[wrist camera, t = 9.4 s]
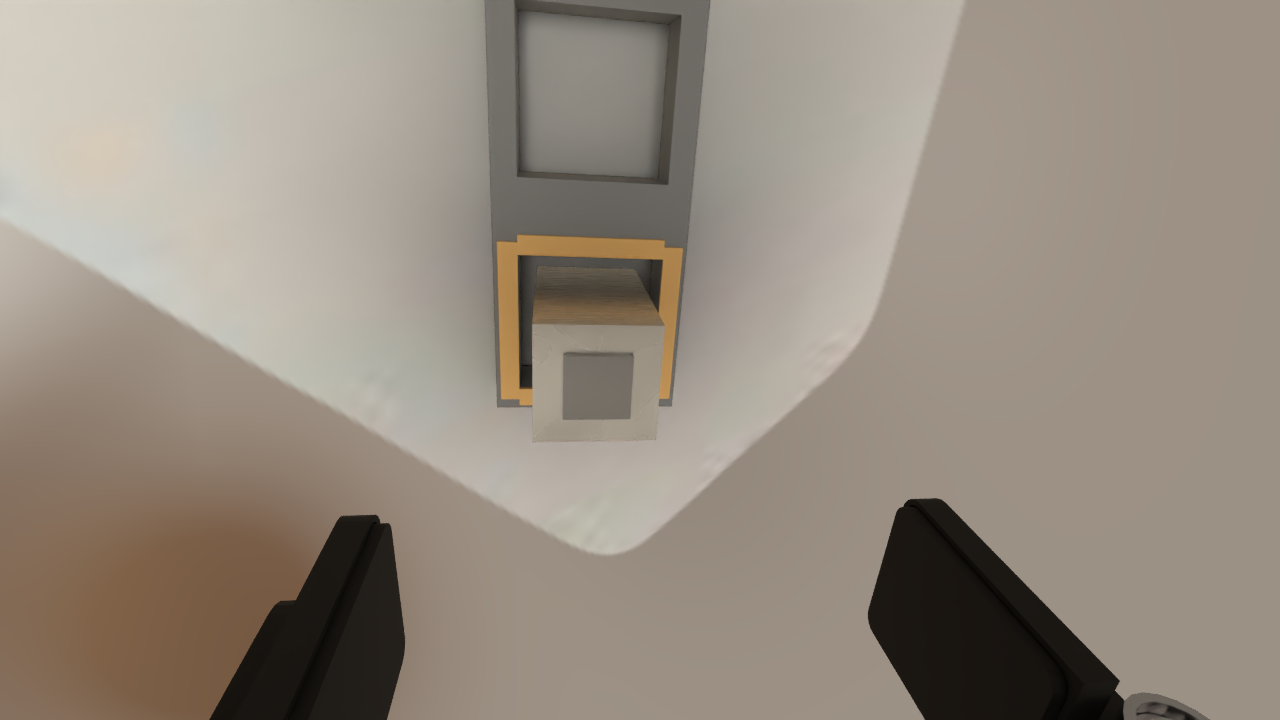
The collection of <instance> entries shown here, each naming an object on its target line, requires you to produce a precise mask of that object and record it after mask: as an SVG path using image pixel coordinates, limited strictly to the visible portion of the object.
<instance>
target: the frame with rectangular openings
mask: <svg viewBox="0 0 1280 720" xmlns="http://www.w3.org/2000/svg"><path fill="white" fill-rule="evenodd" d="M709 8H710V0H485V22H486V55H487V88H488V121H489V153H490V186H491V219H492V252H493V284H494V317H495V350H496V383H497V407H533V388H532V365H522V311H521V255H536V256H566V257H596V258H627V259H652V269H651V283H650V296H649V297H650V298H651V300H652V302H653V304H654V306H655V308H656V310H657V312H658V313H659V315H660V317H661V319H662V321H663V323H664V325H665V334H664V346H663V358H662V370H661V382H660V394H659V405H658V406H672V397H673V387H674V376H675V366H676V355H677V345H678V334H679V323H680V313H681V302H682V292H683V281H684V271H685V260H686V250H687V239H688V229H689V218H690V208H691V197H692V187H693V176H694V166H695V155H696V145H697V134H698V124H699V113H700V102H701V92H702V81H703V71H704V60H705V50H706V39H707V29H708V18H709ZM518 10H526V11H536V12H547V13H557V14H568V15H579V16H589V17H600V18H610V19H621V20H631V21H642V22H652V23H663V24H669V37H668V51H667V64H666V78H665V92H664V105H663V119H662V132H661V146H660V160H659V173H658V179H654V178H636V177H618V176H599V175H581V174H562V173H544V172H525V171H520V148H519V66H518Z"/></svg>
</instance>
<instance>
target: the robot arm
mask: <svg viewBox="0 0 1280 720" xmlns="http://www.w3.org/2000/svg"><path fill="white" fill-rule="evenodd" d="M868 620H869V625H870V628H871V630H872V632H873V634H874V635H875V637H876V639H877V640H878V642H879V644H880V645H881V647H882V649H883V650H884V652H885V654H886V655H887V657H888V659H889V660H890V662H891V664H892V665H893V667H894V669H895V670H896V672H897V674H898V675H899V677H900V679H901V680H902V682H903V684H904V685H905V687H906V689H907V690H908V692H909V694H910V695H911V697H912V699H913V700H914V702H915V704H916V705H917V707H918V709H919V710H920V712H921V713H922V715H923V717H924V719H925V720H1210V719H1208V718H1207V717H1205V716H1204V715H1202V714H1201V713H1199V712H1198V711H1196V710H1194V709H1192V708H1190V707H1188V706H1186V705H1184V704H1182V703H1180V702H1178V701H1177V700H1173V699H1170V698H1168V697H1165V696H1162V695H1158V694H1151V693H1138V694H1132V695H1130V696H1129V697H1128V698H1127V699H1126V700H1125V701H1124V700H1123V699H1122V698H1121V697H1120V695H1118V693H1117V692H1116V691H1115V689H1116V687H1117V685H1118V683H1119V682H1120V681H1119V680H1118V679H1117V678H1116V676H1115V675H1113V673H1112V672H1111V671H1110V670H1109V669H1108V668H1107V667H1106V666H1105V665H1104V664H1103V663H1102V662H1101V661H1100V660H1099V659H1098V658H1097V657H1096V656H1095V655H1094V654H1093V653H1092V652H1091V651H1090V650H1089V649H1088V648H1087V647H1086V646H1085V645H1084V644H1083V643H1082V642H1081V641H1080V640H1079V639H1078V638H1077V637H1076V636H1075V635H1074V634H1073V633H1072V632H1071V630H1069V628H1068V627H1067V626H1066V625H1065V624H1064V623H1063V622H1062V621H1061V620H1060V619H1058V617H1057V616H1056V615H1055V614H1054V613H1053V612H1052V611H1051V610H1050V609H1049V608H1048V607H1047V606H1046V605H1045V604H1044V603H1043V602H1042V601H1041V600H1040V599H1039V598H1038V597H1037V596H1036V595H1035V594H1034V593H1033V592H1032V591H1031V590H1030V589H1029V588H1028V587H1027V586H1026V584H1024V583H1023V581H1022V580H1021V579H1020V578H1019V577H1018V576H1017V575H1016V574H1015V573H1014V572H1013V571H1012V570H1011V569H1010V568H1009V567H1008V566H1007V565H1006V564H1005V563H1004V562H1003V561H1002V560H1001V559H1000V558H999V557H998V556H997V555H996V554H995V553H994V552H993V551H992V550H991V549H990V548H989V547H988V546H987V545H986V544H985V543H984V542H983V541H982V540H981V538H979V537H978V536H977V534H976V533H974V531H973V530H972V529H971V528H970V527H969V526H968V525H967V524H966V523H965V522H964V521H963V520H962V519H961V518H960V517H959V516H958V515H957V514H956V513H955V512H954V511H953V510H952V509H951V508H950V507H949V506H948V505H947V504H946V503H945V502H944V501H942V500H941V499H937V498H934V499H910V500H908V501H907V502H906V503H905V504H904V507H901V508H899V509H898V510H897V513H896V516H895V519H894V523H893V526H892V529H891V533H890V536H889V540H888V544H887V547H886V550H885V554H884V557H883V561H882V564H881V568H880V571H879V575H878V578H877V582H876V585H875V589H874V592H873V596H872V599H871V603H870V606H869V610H868ZM404 650H405V635H404V626H403V618H402V610H401V602H400V594H399V586H398V579H397V570H396V562H395V554H394V546H393V538H392V530H391V526H390V524H389V523H382V524H380V519H379V518H378V516H377V515H358V516H357V515H356V516H341V517H340V518H339V519H338V520H337V522H336V524H335V526H334V528H333V530H332V532H331V534H330V535H329V538H328V539H327V541H326V543H325V545H324V547H323V549H322V551H321V553H320V555H319V557H318V559H317V561H316V562H315V565H314V566H313V568H312V570H311V572H310V574H309V576H308V578H307V580H306V582H305V584H304V585H303V587H302V589H301V591H300V593H299V595H298V597H297V599H296V600H293V601H280V602H278V603H277V604H276V605H275V606H274V607H273V608H272V610H271V611H270V613H269V614H268V616H267V618H266V620H265V621H264V623H263V625H262V627H261V628H260V630H259V632H258V634H257V635H256V637H255V639H254V641H253V643H252V645H251V646H250V648H249V650H248V652H247V653H246V655H245V657H244V659H243V661H242V662H241V664H240V666H239V668H238V669H237V671H236V673H235V675H234V677H233V678H232V680H231V682H230V684H229V686H228V687H227V689H226V691H225V693H224V694H223V696H222V698H221V700H220V702H219V703H218V705H217V707H216V709H215V711H214V713H213V714H212V716H211V718H210V720H387V717H388V713H389V710H390V706H391V703H392V699H393V695H394V692H395V687H396V684H397V681H398V677H399V673H400V670H401V666H402V662H403V657H404Z"/></svg>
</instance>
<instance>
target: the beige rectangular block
mask: <svg viewBox="0 0 1280 720" xmlns="http://www.w3.org/2000/svg"><path fill="white" fill-rule="evenodd" d="M664 334H665V325H664V323H663V321H662V319H661V317H660V315H659V313H658V312H657V310H656V308H655V306H654V304H653V302H652V300H651V298H650V297H649V295H648V293H647V291H646V289H645V287H644V285H643V283H642V281H641V280H640V278H639V276H638V274H637V272H636V270H635V269H610V268H575V267H541V266H537V275H536V286H535V297H534V308H533V319H532V388H533V442H567V441H633V440H656V429H657V417H658V405H659V394H660V382H661V370H662V358H663V346H664Z"/></svg>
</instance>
